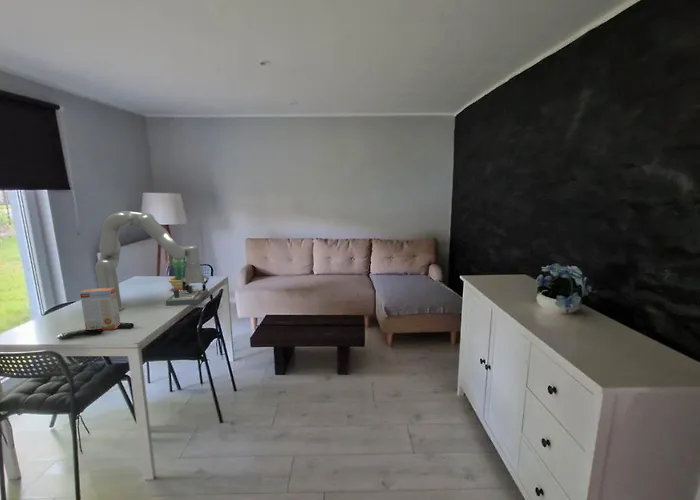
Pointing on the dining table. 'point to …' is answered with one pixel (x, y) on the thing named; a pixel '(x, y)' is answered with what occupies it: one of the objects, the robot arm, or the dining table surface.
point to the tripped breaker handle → (190, 289)
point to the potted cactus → (178, 273)
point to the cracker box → (100, 308)
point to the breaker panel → (186, 297)
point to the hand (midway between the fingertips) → (196, 291)
